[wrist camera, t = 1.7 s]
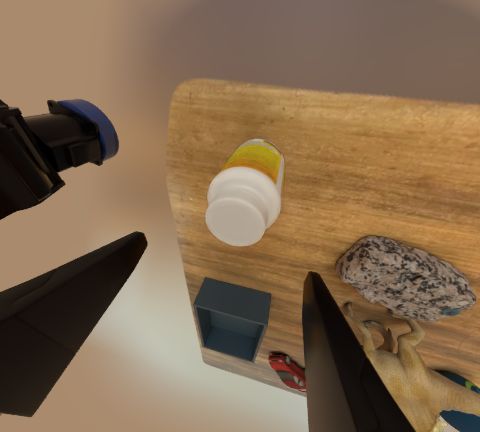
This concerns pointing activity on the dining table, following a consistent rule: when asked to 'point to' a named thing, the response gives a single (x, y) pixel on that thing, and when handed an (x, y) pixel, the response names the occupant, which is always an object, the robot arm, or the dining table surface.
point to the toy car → (288, 371)
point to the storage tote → (231, 318)
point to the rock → (405, 279)
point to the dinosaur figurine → (413, 376)
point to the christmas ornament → (469, 425)
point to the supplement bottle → (246, 193)
